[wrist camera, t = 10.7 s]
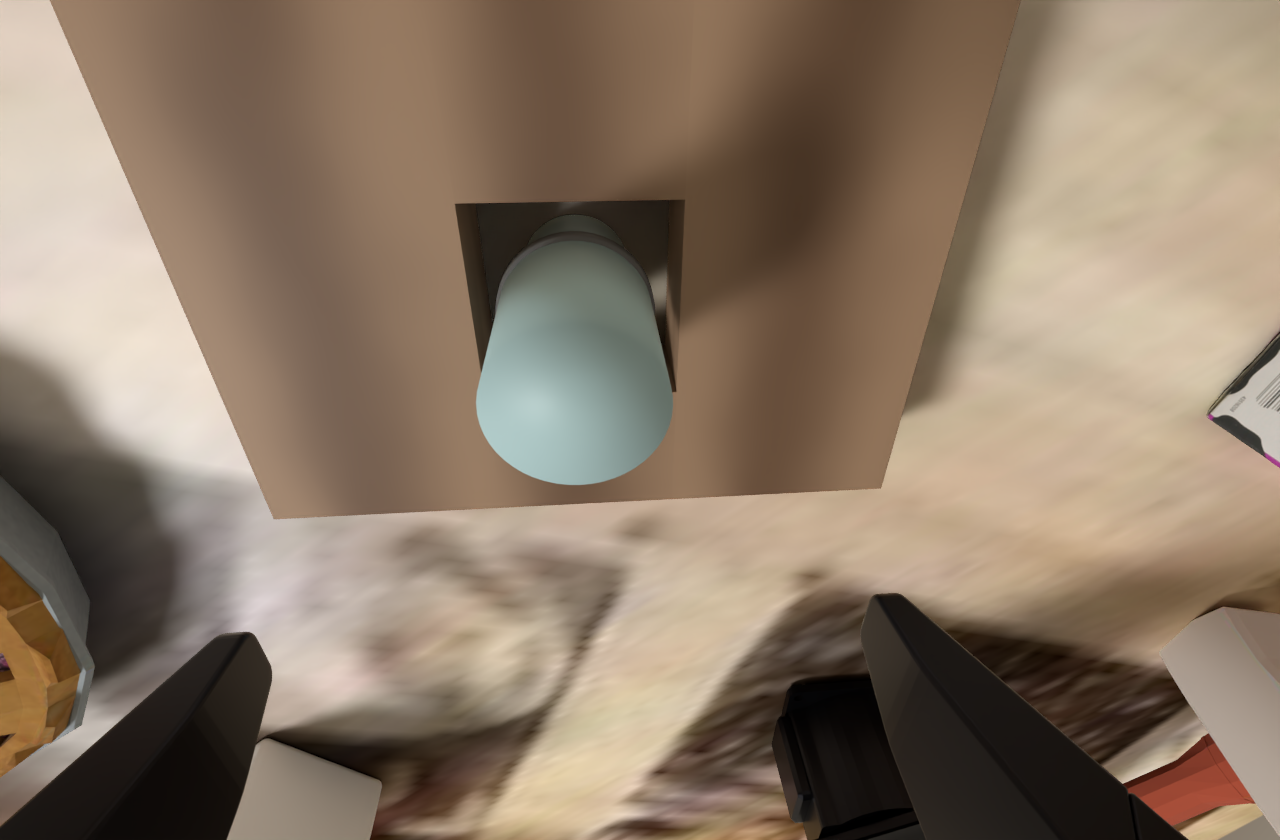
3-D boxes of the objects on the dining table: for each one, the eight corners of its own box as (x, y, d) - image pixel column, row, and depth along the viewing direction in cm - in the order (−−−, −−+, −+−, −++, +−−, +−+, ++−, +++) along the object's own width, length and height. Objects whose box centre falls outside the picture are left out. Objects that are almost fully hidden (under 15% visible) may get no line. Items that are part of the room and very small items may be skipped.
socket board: (954, -6, 16) (1021, -3, 14) (849, 436, 24) (880, 488, 22) (133, -10, 15) (45, -8, 12) (306, 461, 23) (273, 519, 20)
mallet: (1008, 970, 44) (1489, 851, 25) (964, 971, 44) (1423, 850, 24) (947, 799, 52) (1277, 606, 33) (909, 797, 52) (1223, 599, 32)
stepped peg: (644, 196, 19) (681, 313, 12) (643, 326, 21) (673, 483, 14) (499, 199, 18) (456, 320, 12) (514, 330, 21) (485, 492, 14)
